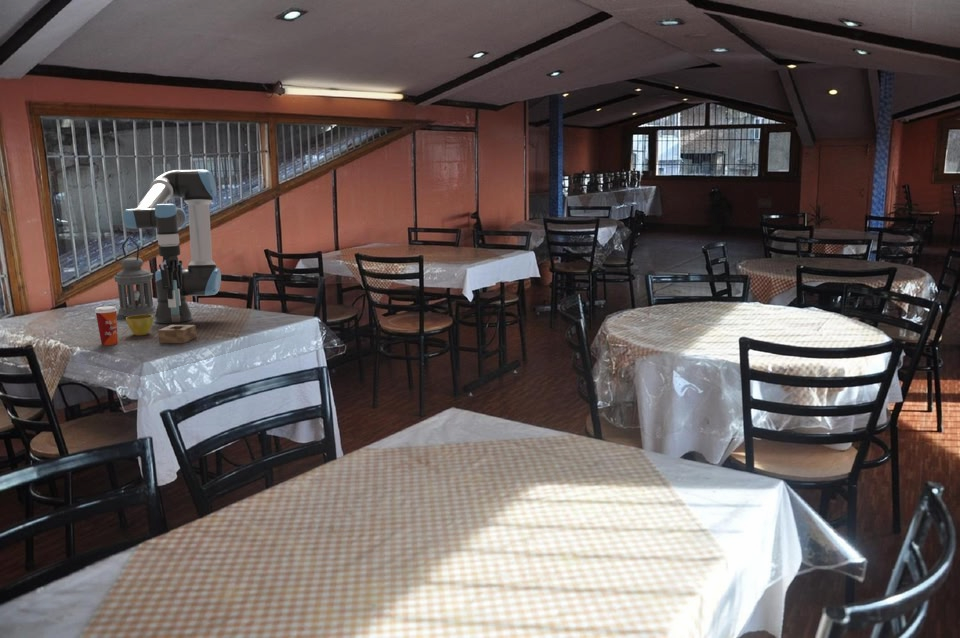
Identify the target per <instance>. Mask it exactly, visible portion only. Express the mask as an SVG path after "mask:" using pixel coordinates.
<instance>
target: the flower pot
mask: <svg viewBox="0 0 960 638" xmlns="http://www.w3.org/2000/svg"><path fill="white" fill-rule="evenodd" d="M125 321H126V323H127V325H128V328H129V330H130V331H131V332H132V334H133V335H134V336H146V335H149V333H150V331H151V329H152V325H153V321H154V315H152V314H147V315H135V316H125Z"/></svg>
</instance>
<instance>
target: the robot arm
mask: <svg viewBox="0 0 960 638" xmlns="http://www.w3.org/2000/svg"><path fill="white" fill-rule="evenodd" d="M217 189H218V188H217V184H216V179H215V178H214V175H213V173H212V172H211V171H210V170H209V169H199V168H198V169H173V170H169V171H166V172H165V173H162V174H161V175H159V176H157V177H156V178H154V180H153V181H151V183H150V186H149V189H148V191H147V193H146V194H145V195H144V196H143V198H142V199H141V200H140V202H139V203H138V204H137V205H136V207H134V208H126V209H125V210H124V211H123V214H122V219H123V223H124V226H125V227H126V228H127V229H134V230H138V229H156V234H157V236H156V239H157V245H159V246H158V255H159V256H160V257H162V263H161V264H160V263H159V264H158V268H159V269H157V271H155V272H154V273H155V289H156V299H157V307H156V312H155V316H154V320H155V321H154V322H155V323H157V324H177V323H184V322H188V321H191V320H192V319H193V313H192V311H191V309H190V307H189V304H188V302H187V297H197V296H204V297H205V296H206V297H207V296H214V295H216V294H218V292H219V290H220V288H221V284H222V272H221V269H220V268H218V267H217V264H216V263H215V261H214V260H213V254H212V253H213V249H212V233H211V213H210V210H211V209H210V206H211V204H212V202H213V200H214V199H213V198H216V196H217V191H218V190H217ZM172 198H183V201H184V203H185V204H186V205H187V208H188V216H187V214H186V213H187V212H186V211H185V210H183V209H182V208H180V207H177V206H176V204H174V203H166V201H169V200H171V199H172ZM187 217H188V218H187ZM187 219H188V223H189V224H188V225H189V241H190V242H189V243H190V257H191V258H190V262H189V263H188V264H187V269H185V267H184V266H183V261H182V260H179V258H178V256H180V255H181V247H180V245H179V244H180V237H179V228H180V227H182V226H184V225H185V223H186V222H187ZM173 280H176V281H177V292H178V302H179V313H180V322H172V317H171V307H176V299H175V290H173Z"/></svg>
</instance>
